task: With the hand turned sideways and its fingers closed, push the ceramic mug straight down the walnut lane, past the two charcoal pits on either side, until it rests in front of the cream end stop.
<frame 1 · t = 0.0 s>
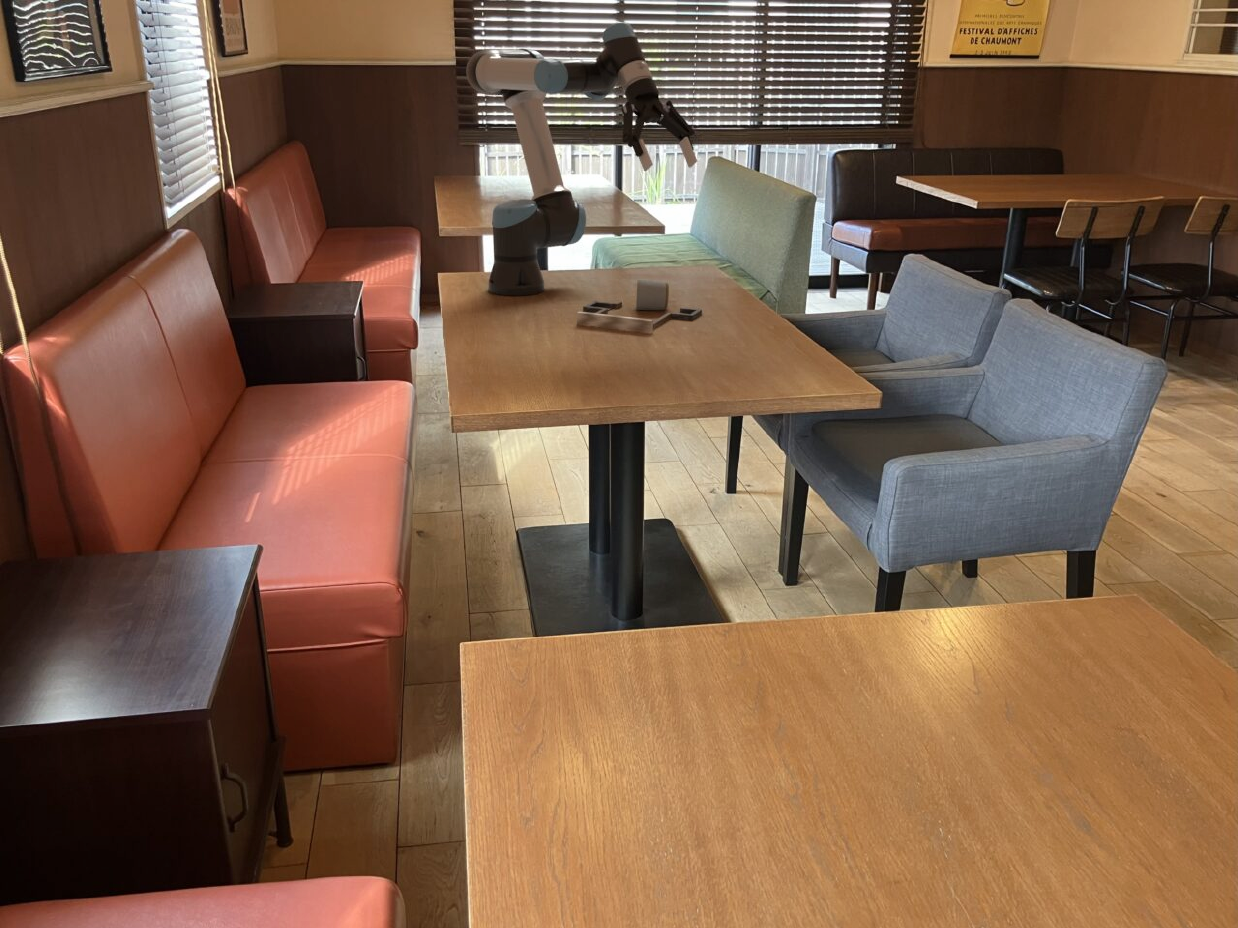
hand: (671, 166, 240), 36 cm above the table, tool tilted 35°, fingers open, 13 cm apart
pit lane: (632, 318, 252), on the table
ceramic mug: (650, 309, 262), on the table
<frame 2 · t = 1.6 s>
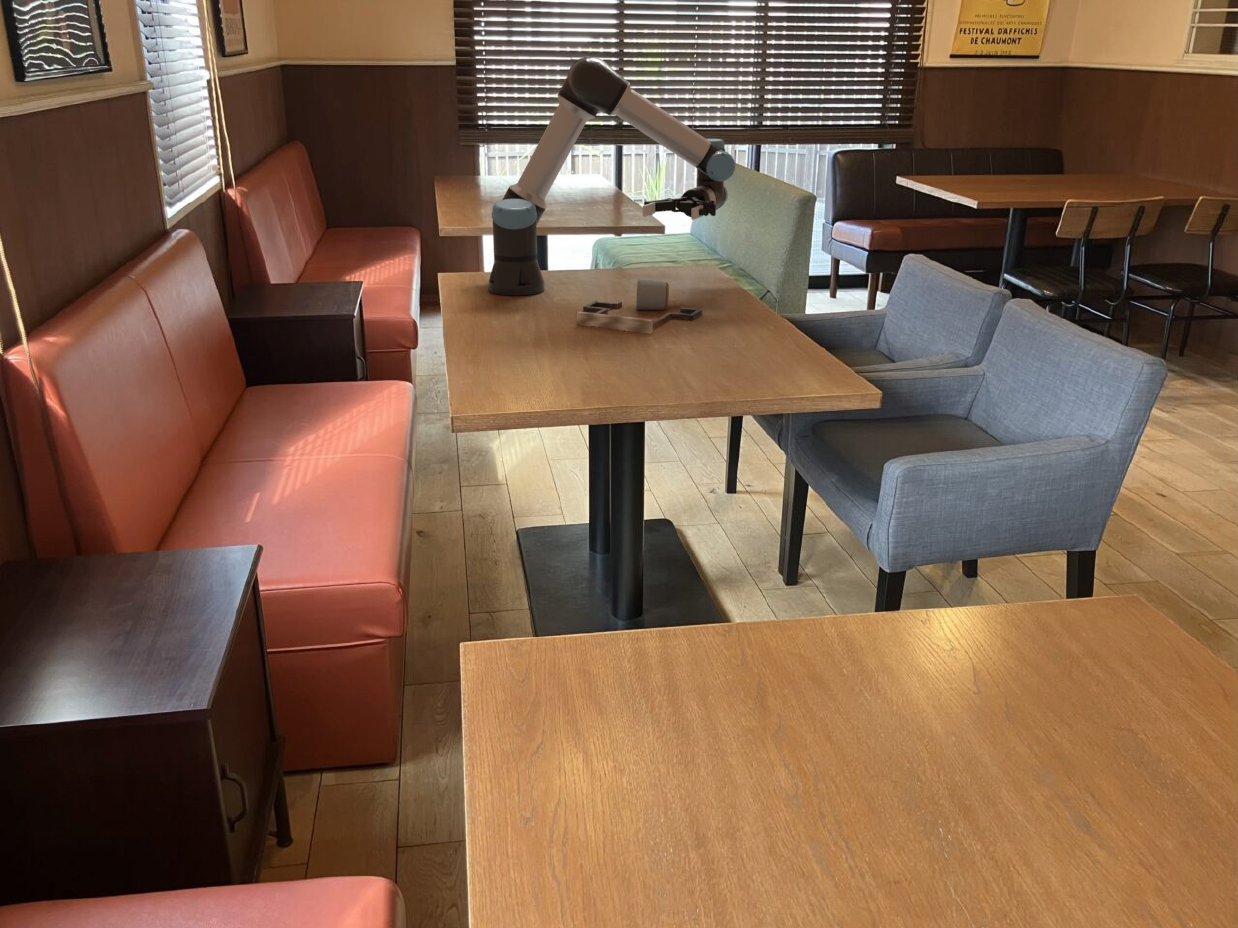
hand: (668, 212, 263), 22 cm above the table, tool horizontal, fingers open, 13 cm apart
nothing on the table moved.
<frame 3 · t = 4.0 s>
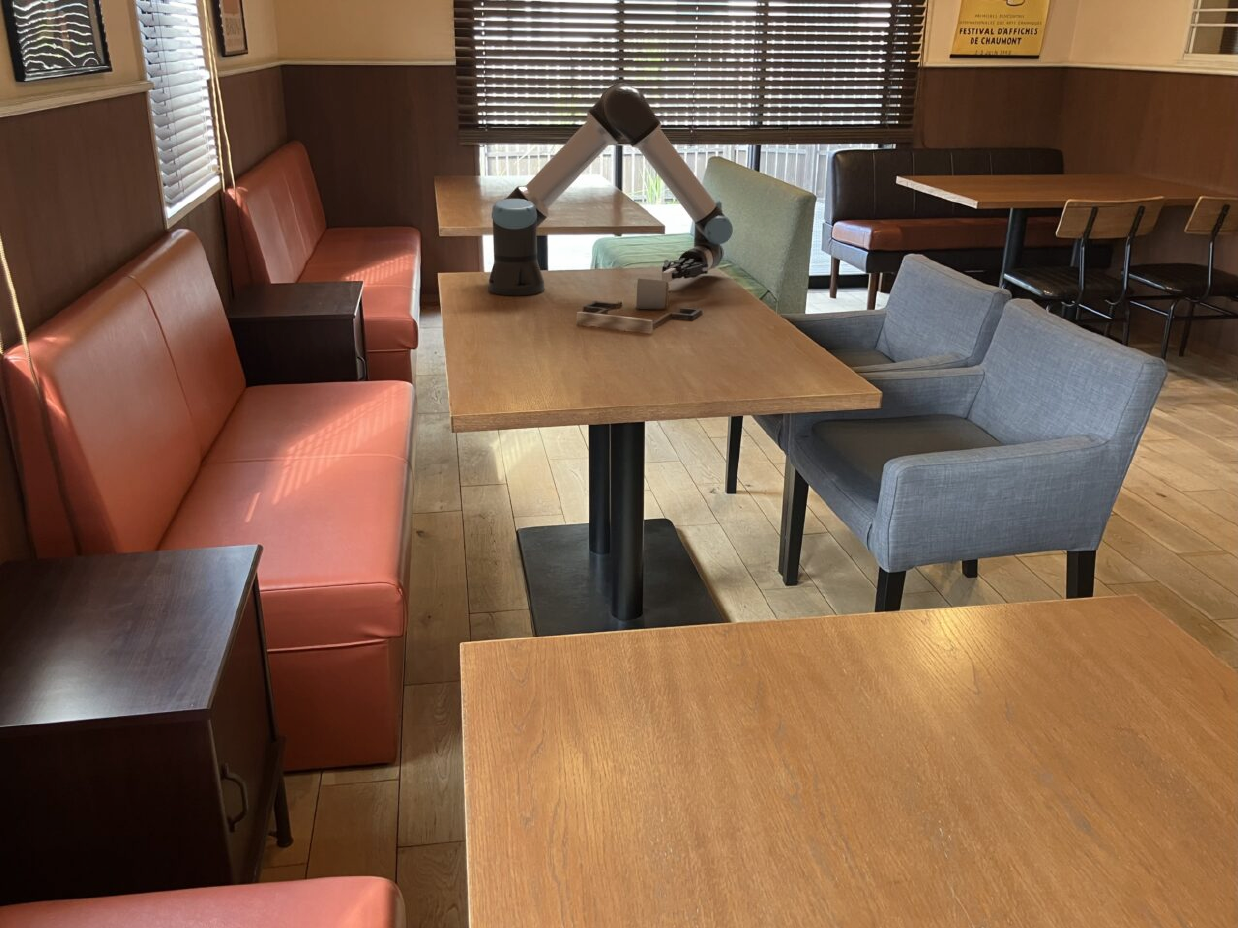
hand: (664, 277, 268), 6 cm above the table, tool horizontal, fingers closed
nothing on the table moved.
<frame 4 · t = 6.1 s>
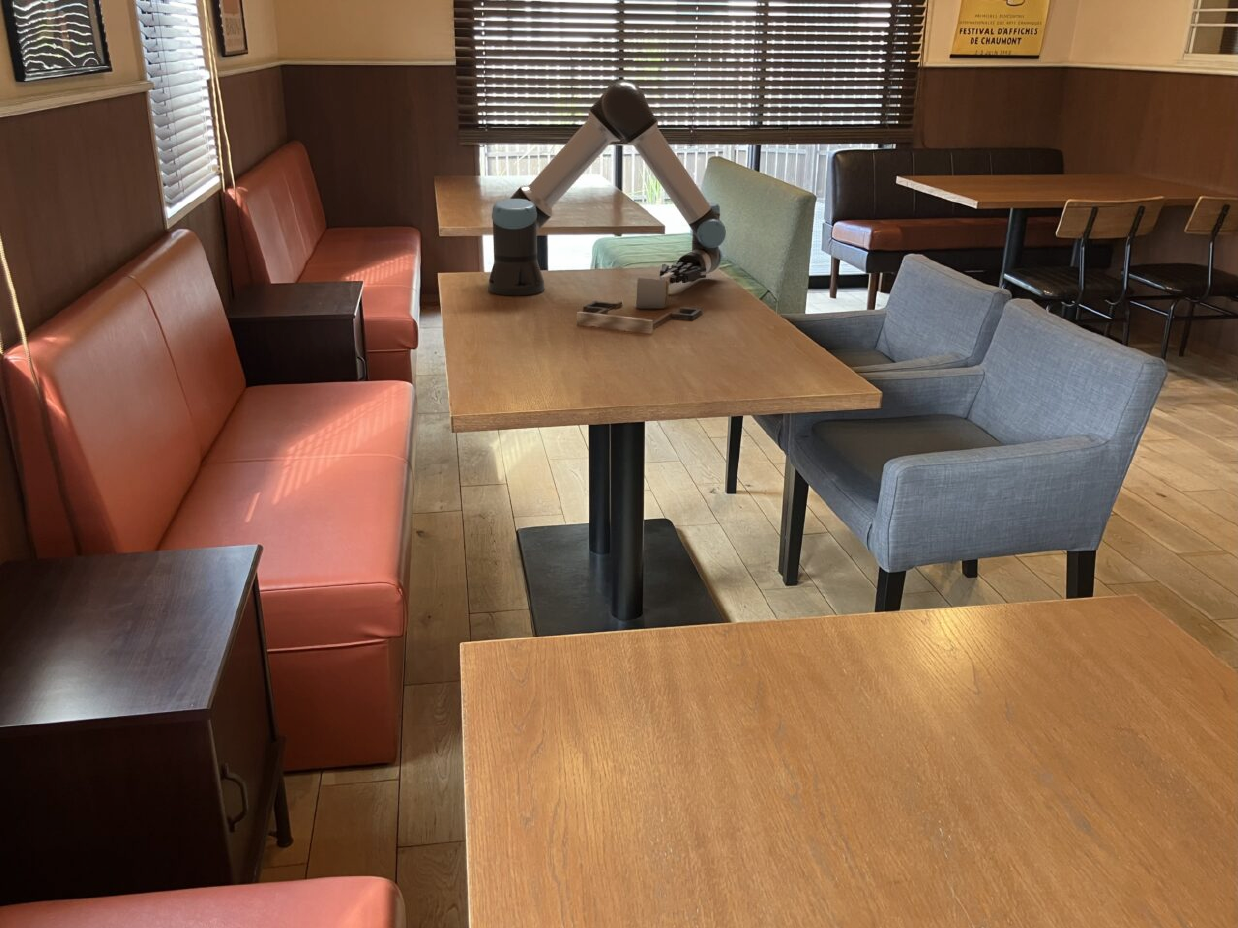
hand: (662, 282, 263), 6 cm above the table, tool horizontal, fingers closed
ceramic mug: (650, 307, 263), on the table, touching gripper
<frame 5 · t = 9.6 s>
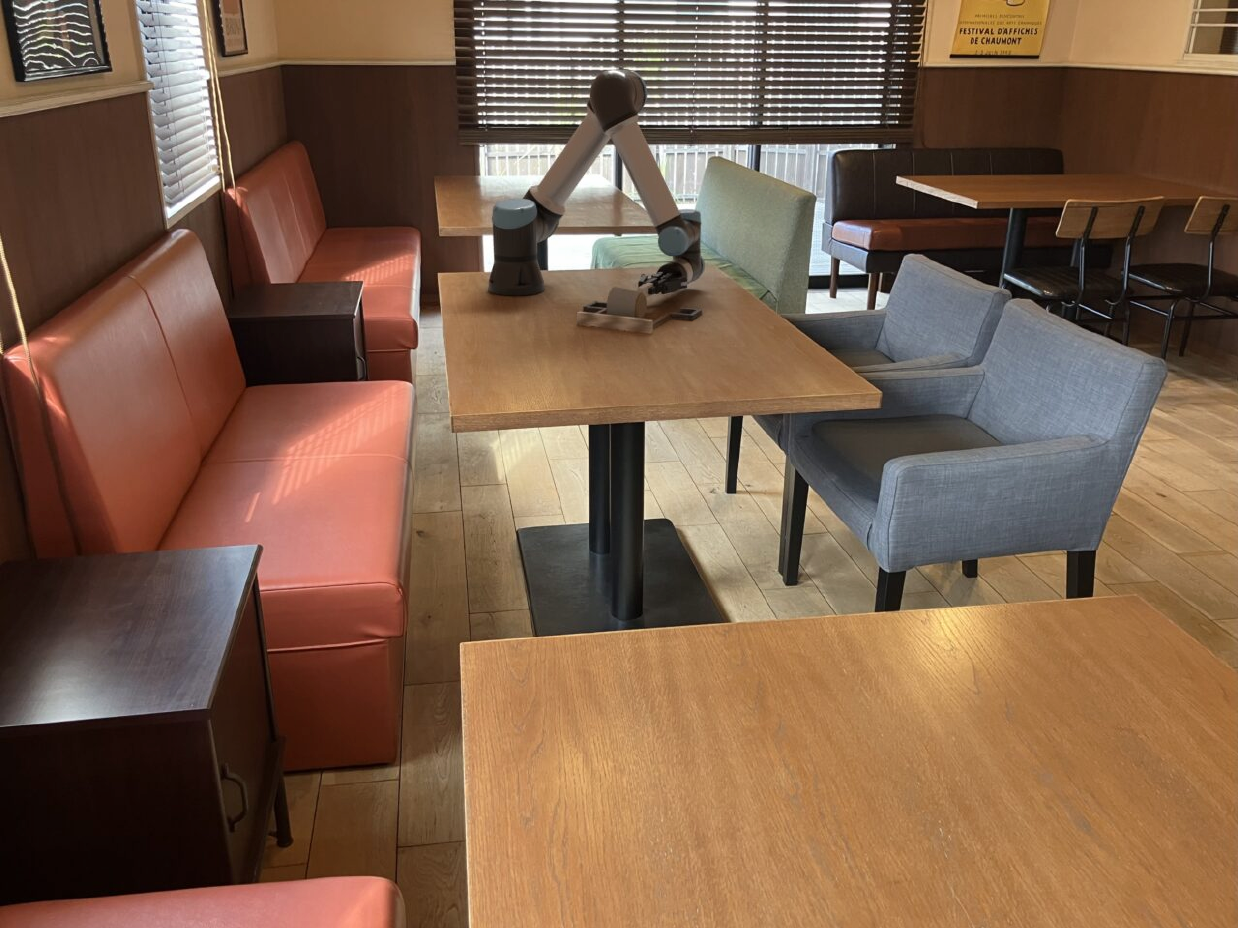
hand: (640, 293, 251), 6 cm above the table, tool horizontal, fingers closed
ceramic mug: (627, 319, 252), on the table, touching gripper
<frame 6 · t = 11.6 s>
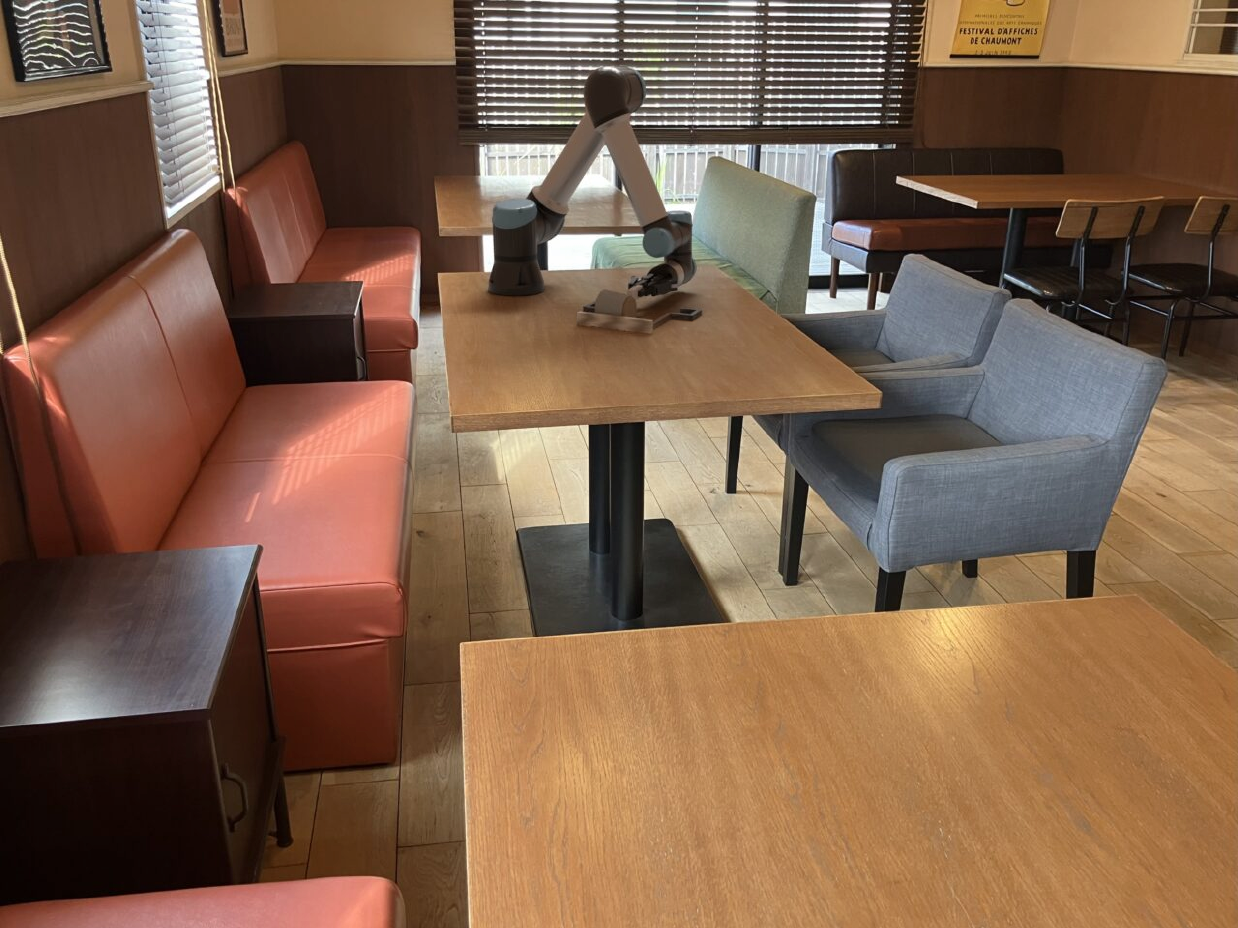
hand: (629, 296, 248), 6 cm above the table, tool horizontal, fingers closed
ceramic mug: (617, 322, 249), on the table, touching gripper
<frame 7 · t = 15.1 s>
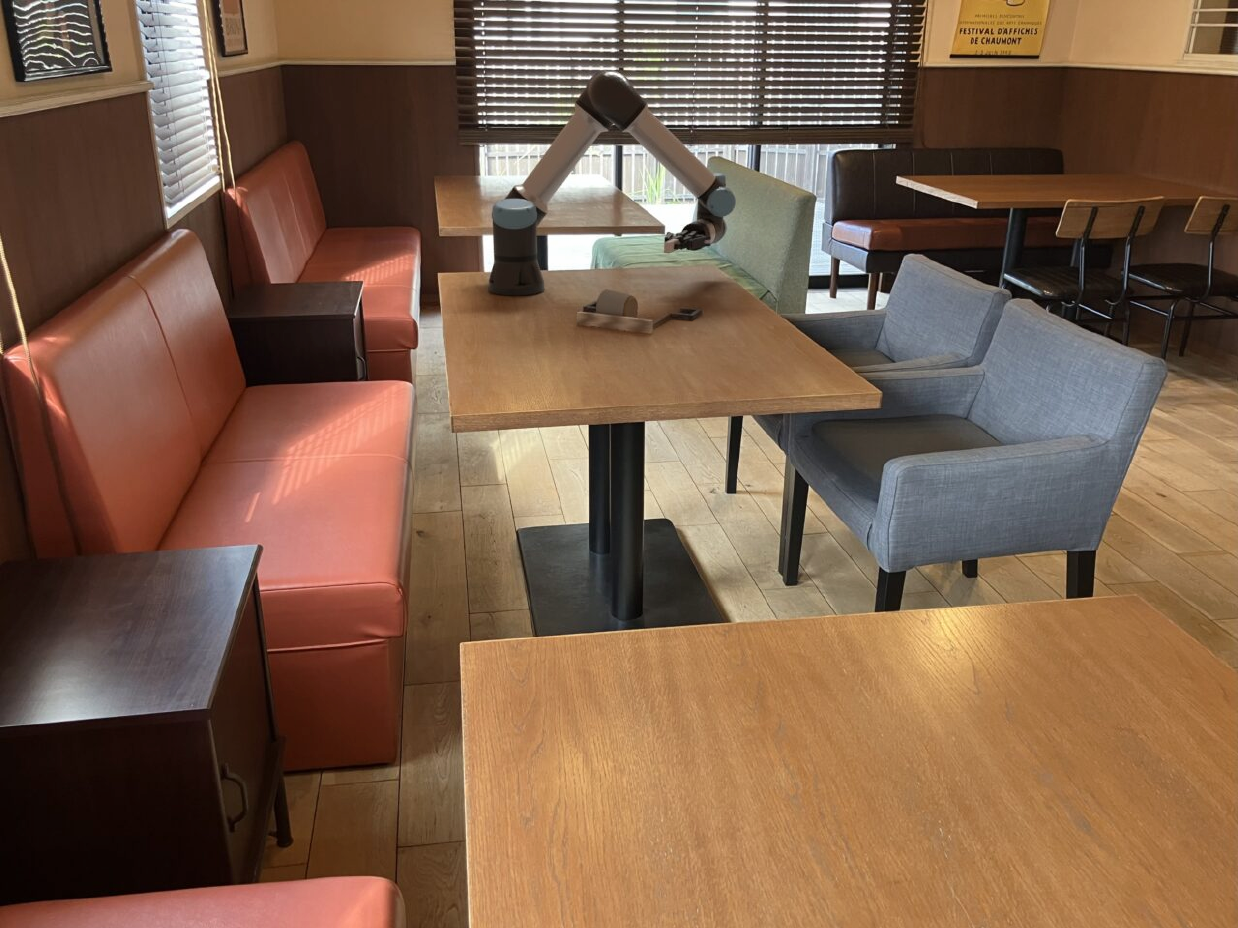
hand: (666, 248, 264), 14 cm above the table, tool horizontal, fingers closed
ceramic mug: (619, 322, 249), on the table
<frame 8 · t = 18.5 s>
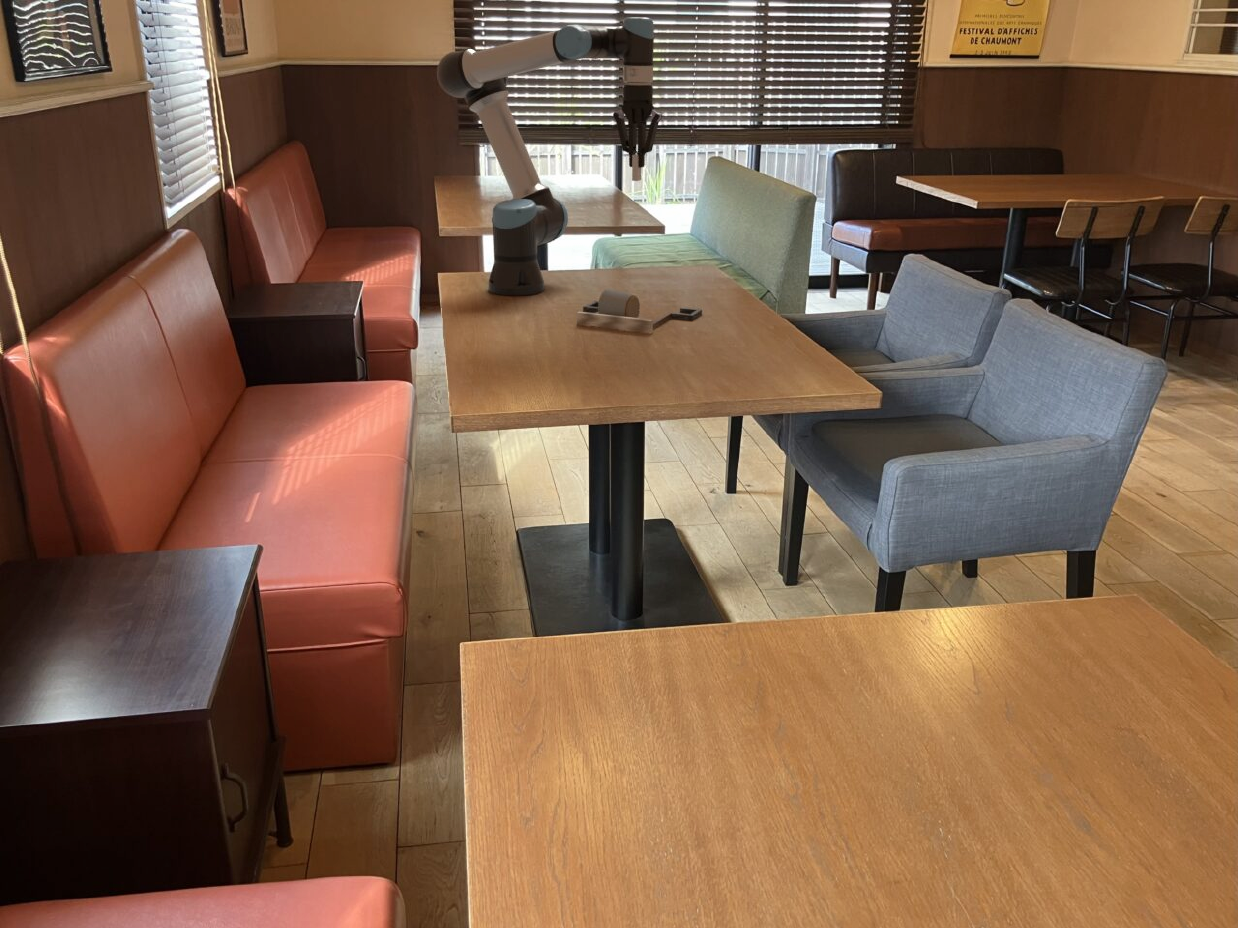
hand: (636, 180, 268), 29 cm above the table, tool pointing down, fingers closed
nothing on the table moved.
at the end: ceramic mug inside the target area (2.2 cm from its centre), on the table; ceramic mug tilted 0° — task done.
